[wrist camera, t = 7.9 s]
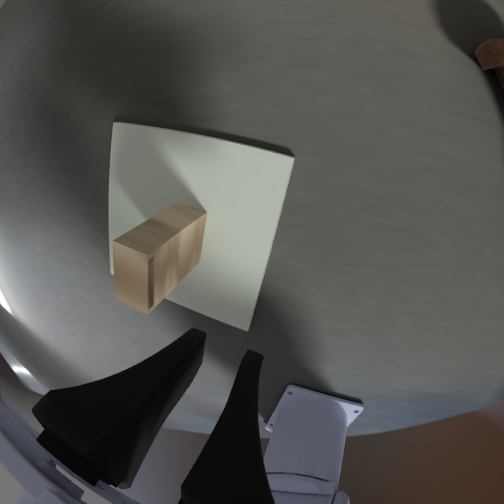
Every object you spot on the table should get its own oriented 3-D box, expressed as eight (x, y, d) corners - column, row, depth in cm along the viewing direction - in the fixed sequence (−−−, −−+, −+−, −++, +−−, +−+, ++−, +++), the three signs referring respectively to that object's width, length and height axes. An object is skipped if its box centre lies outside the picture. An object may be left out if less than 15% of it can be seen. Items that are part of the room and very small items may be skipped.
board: (249, 327, 24) (247, 331, 23) (114, 270, 26) (110, 273, 26) (295, 157, 17) (293, 158, 17) (118, 121, 20) (113, 122, 19)
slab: (200, 261, 22) (148, 315, 16) (172, 251, 22) (115, 298, 16) (207, 212, 20) (148, 255, 14) (176, 203, 20) (111, 240, 14)
